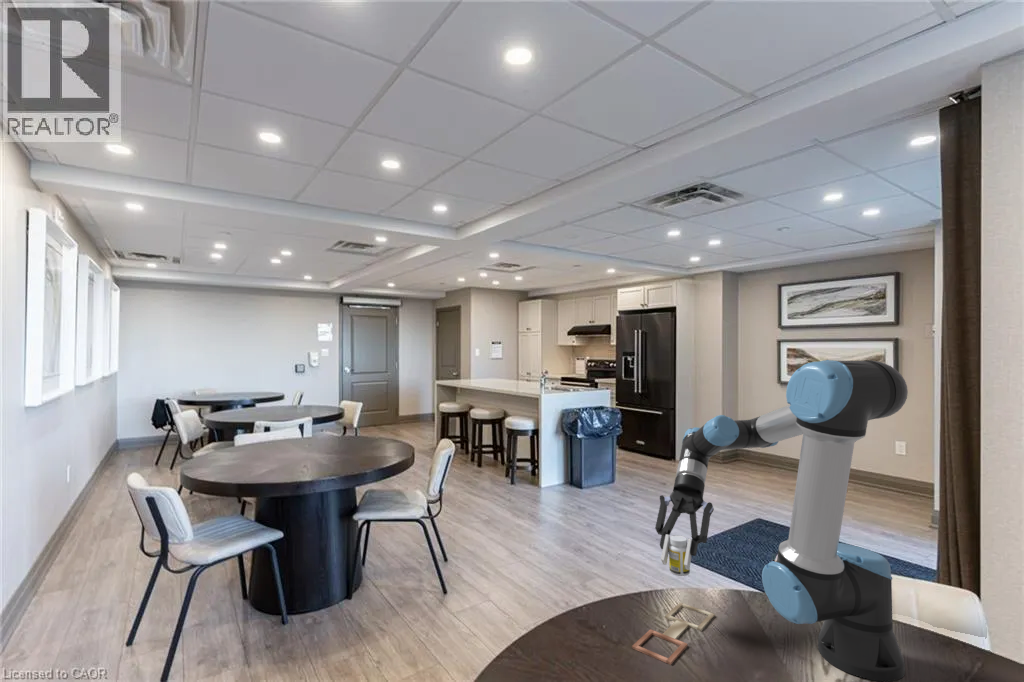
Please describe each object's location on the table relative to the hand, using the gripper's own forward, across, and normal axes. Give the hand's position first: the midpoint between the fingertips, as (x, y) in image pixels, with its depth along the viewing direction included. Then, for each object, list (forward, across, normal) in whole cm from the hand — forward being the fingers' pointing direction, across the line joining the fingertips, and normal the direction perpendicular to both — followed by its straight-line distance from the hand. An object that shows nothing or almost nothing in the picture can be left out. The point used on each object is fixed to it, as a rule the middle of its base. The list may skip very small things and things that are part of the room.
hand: (674, 564), depth 119 cm
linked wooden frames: (+12, 0, -9) cm, 15 cm away
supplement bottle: (0, 0, -5) cm, 5 cm away
